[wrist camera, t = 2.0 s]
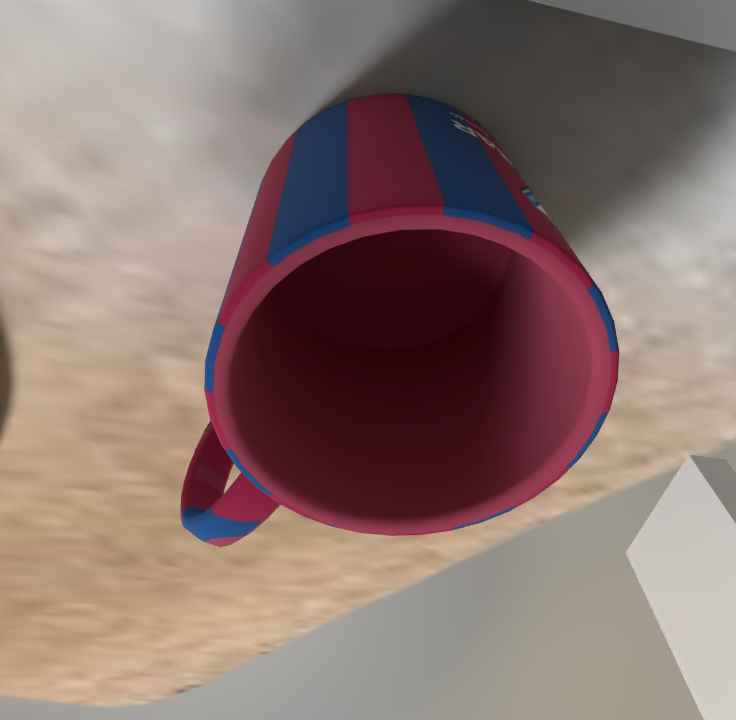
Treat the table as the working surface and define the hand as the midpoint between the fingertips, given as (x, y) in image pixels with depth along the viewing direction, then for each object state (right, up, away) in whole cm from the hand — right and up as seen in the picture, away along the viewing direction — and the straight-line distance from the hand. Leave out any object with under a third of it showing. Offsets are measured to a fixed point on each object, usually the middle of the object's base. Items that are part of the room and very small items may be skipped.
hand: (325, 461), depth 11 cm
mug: (0, +4, +5) cm, 7 cm away
